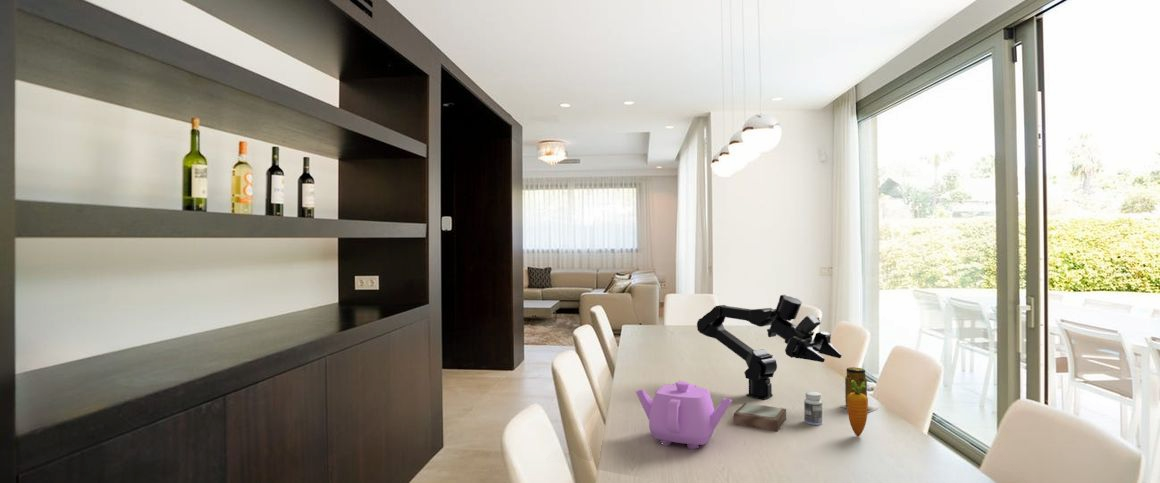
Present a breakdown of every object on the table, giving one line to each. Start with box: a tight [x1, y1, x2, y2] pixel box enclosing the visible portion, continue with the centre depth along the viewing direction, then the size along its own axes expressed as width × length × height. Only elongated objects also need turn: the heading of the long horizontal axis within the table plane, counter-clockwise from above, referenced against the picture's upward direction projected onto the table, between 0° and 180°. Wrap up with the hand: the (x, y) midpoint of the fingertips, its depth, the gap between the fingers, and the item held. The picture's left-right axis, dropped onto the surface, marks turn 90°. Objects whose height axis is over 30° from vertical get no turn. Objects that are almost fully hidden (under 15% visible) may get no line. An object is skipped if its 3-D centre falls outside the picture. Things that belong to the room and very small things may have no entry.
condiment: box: [840, 366, 879, 413], centre depth 166 cm, size 7×8×12 cm
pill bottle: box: [803, 390, 823, 426], centre depth 153 cm, size 5×5×8 cm
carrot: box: [846, 380, 869, 437], centre depth 141 cm, size 5×5×15 cm
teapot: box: [635, 380, 732, 450], centre depth 140 cm, size 19×18×15 cm
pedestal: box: [733, 402, 787, 432], centre depth 154 cm, size 12×12×3 cm
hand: (832, 358), depth 159 cm, fingers open, 9 cm apart
